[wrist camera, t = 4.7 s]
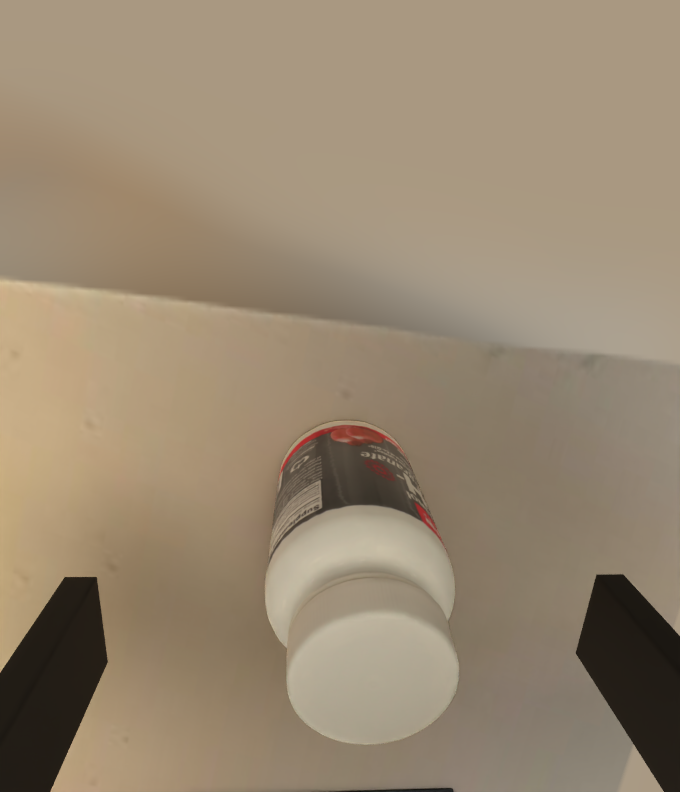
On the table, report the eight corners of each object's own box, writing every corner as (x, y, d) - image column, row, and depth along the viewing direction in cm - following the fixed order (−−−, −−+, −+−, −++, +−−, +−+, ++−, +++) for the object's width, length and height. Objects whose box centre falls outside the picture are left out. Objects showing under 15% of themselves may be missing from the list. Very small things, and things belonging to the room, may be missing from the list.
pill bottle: (435, 455, 20) (539, 649, 11) (364, 551, 22) (405, 796, 12) (322, 391, 19) (333, 548, 10) (254, 497, 20) (209, 723, 11)
